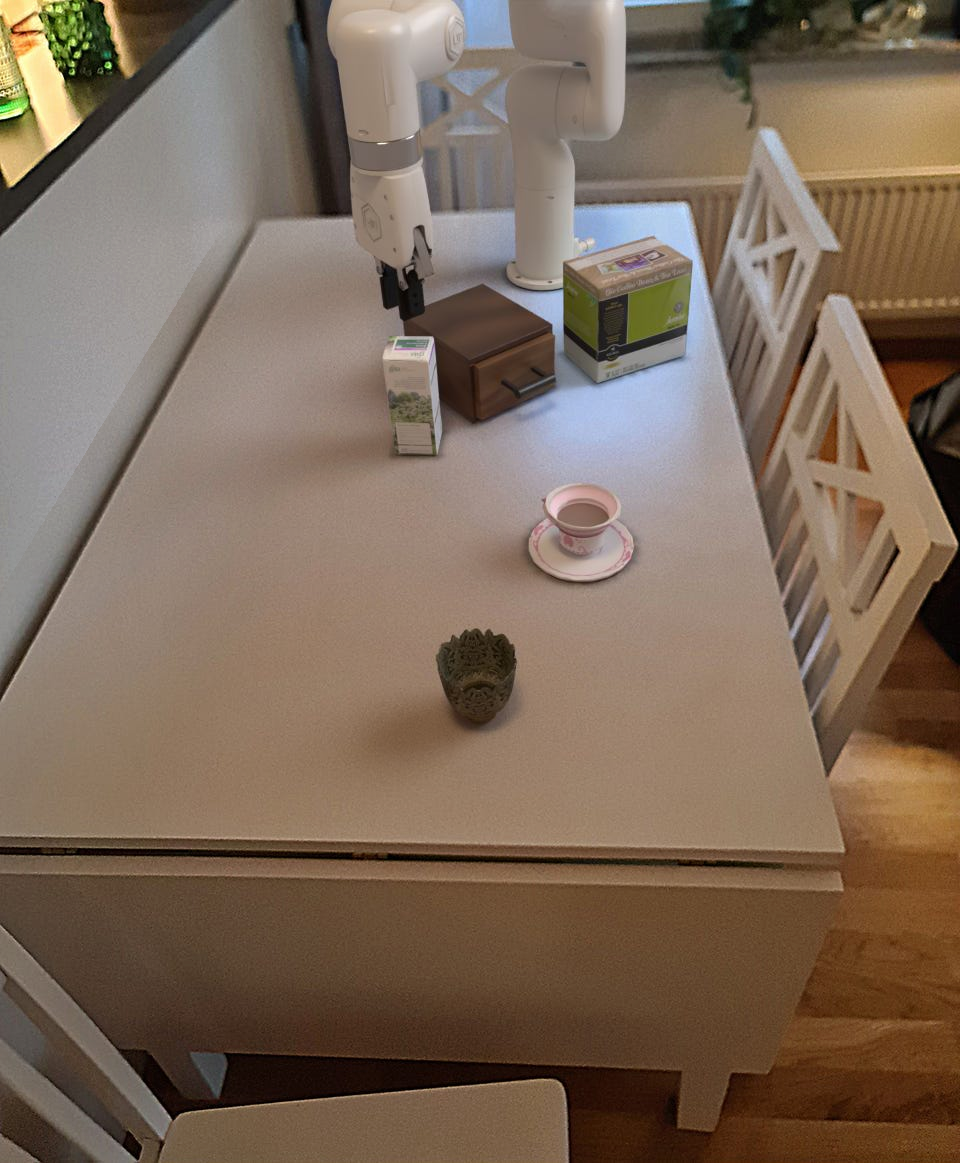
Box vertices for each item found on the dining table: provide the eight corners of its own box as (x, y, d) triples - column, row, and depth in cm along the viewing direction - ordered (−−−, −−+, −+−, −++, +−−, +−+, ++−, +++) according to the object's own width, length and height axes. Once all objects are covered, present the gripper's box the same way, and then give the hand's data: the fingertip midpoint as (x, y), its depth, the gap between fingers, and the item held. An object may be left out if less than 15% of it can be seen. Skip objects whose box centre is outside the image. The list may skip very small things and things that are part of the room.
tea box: (647, 328, 143) (655, 232, 133) (686, 357, 137) (697, 259, 127) (560, 354, 139) (561, 257, 129) (595, 386, 133) (599, 287, 122)
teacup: (649, 530, 110) (653, 488, 106) (609, 596, 102) (611, 554, 98) (555, 503, 114) (555, 462, 110) (510, 564, 107) (508, 522, 103)
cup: (440, 685, 95) (433, 630, 89) (514, 678, 95) (511, 623, 89) (444, 746, 89) (438, 691, 84) (522, 738, 89) (521, 683, 84)
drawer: (575, 399, 129) (576, 348, 123) (501, 434, 124) (498, 382, 118) (491, 346, 140) (489, 296, 135) (421, 376, 135) (415, 325, 130)
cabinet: (552, 387, 133) (552, 324, 126) (473, 424, 127) (468, 359, 121) (485, 344, 142) (482, 283, 136) (409, 376, 137) (401, 314, 130)
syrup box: (443, 431, 126) (434, 333, 116) (437, 457, 122) (427, 358, 112) (401, 430, 127) (388, 333, 117) (394, 457, 123) (380, 358, 113)
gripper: (316, 138, 102) (342, 296, 115) (397, 180, 92) (415, 348, 105) (375, 121, 105) (394, 277, 118) (460, 160, 95) (470, 326, 108)
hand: (404, 309), depth 111 cm, fingers closed
